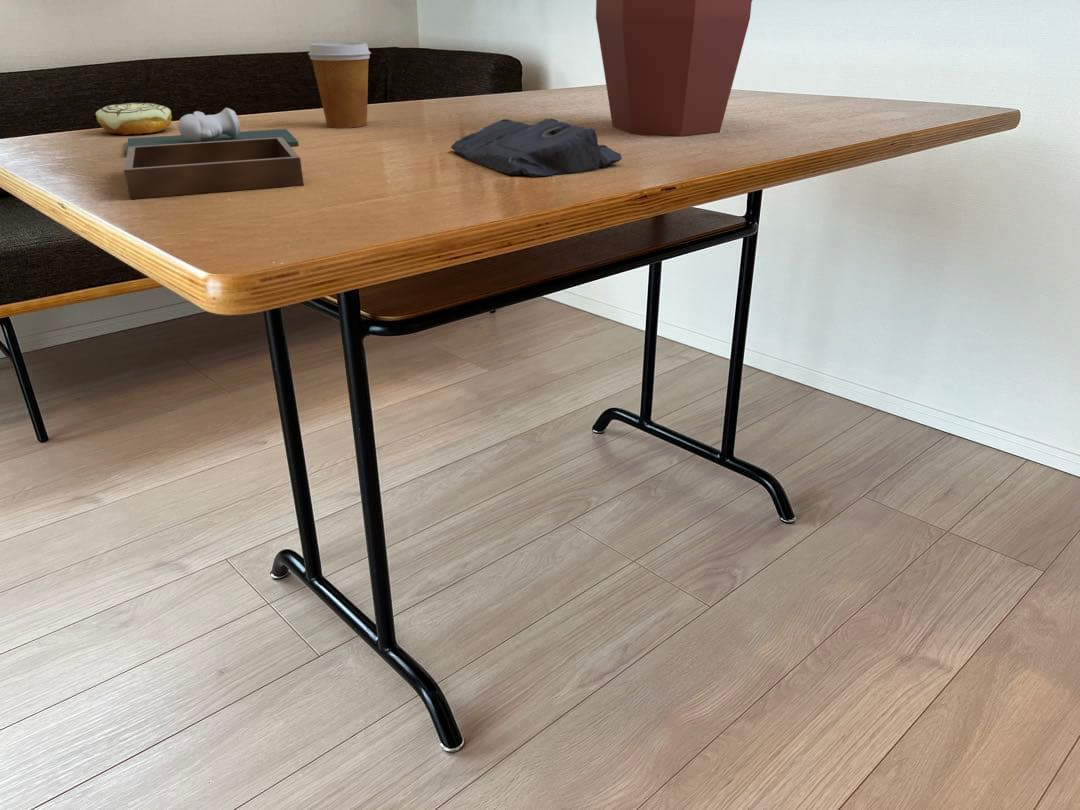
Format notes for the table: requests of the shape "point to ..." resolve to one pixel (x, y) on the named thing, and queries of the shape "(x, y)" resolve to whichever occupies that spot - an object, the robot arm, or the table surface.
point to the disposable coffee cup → (342, 81)
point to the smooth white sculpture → (209, 125)
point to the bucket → (670, 62)
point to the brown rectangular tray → (211, 167)
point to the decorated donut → (134, 118)
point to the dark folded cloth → (536, 148)
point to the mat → (223, 137)
